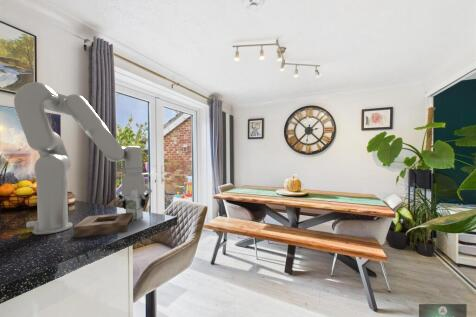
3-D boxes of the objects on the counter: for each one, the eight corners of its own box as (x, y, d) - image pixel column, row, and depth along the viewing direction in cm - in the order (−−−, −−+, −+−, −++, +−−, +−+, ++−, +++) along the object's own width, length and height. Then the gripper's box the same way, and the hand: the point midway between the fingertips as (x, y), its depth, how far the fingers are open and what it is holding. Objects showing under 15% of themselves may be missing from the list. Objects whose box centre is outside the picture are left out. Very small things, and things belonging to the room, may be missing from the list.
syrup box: (143, 216, 106) (143, 187, 106) (136, 220, 100) (136, 189, 100) (132, 216, 107) (132, 187, 107) (125, 220, 101) (124, 189, 101)
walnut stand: (73, 237, 80) (73, 227, 80) (88, 225, 94) (88, 216, 94) (126, 231, 85) (126, 221, 85) (133, 221, 99) (132, 212, 99)
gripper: (111, 172, 97) (112, 211, 97) (152, 171, 102) (152, 208, 103) (115, 171, 104) (116, 207, 105) (153, 170, 110) (154, 204, 110)
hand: (134, 207), depth 104 cm, fingers closed on syrup box, 7 cm apart
